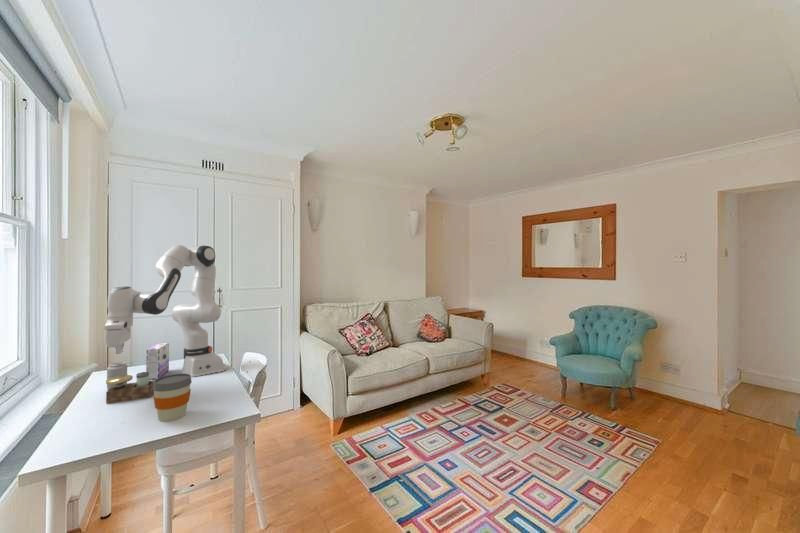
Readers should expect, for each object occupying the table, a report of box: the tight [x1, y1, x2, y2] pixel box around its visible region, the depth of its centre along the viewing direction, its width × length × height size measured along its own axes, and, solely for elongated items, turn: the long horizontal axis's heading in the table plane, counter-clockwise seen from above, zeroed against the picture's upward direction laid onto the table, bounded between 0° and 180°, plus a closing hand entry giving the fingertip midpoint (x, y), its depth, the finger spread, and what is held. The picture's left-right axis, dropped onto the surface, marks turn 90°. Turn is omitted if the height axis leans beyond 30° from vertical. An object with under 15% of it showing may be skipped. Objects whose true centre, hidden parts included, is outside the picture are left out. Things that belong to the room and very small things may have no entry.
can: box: [106, 361, 128, 390], centre depth 155 cm, size 8×8×12 cm
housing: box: [105, 379, 155, 405], centre depth 144 cm, size 16×9×5 cm, turn 118°
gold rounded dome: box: [105, 374, 134, 389], centre depth 142 cm, size 9×9×6 cm
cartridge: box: [135, 371, 150, 387], centre depth 146 cm, size 5×5×10 cm
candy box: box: [145, 342, 170, 381], centre depth 173 cm, size 14×6×16 cm, turn 17°
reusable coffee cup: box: [152, 373, 192, 423], centre depth 125 cm, size 13×13×15 cm
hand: (119, 353), depth 142 cm, fingers closed
